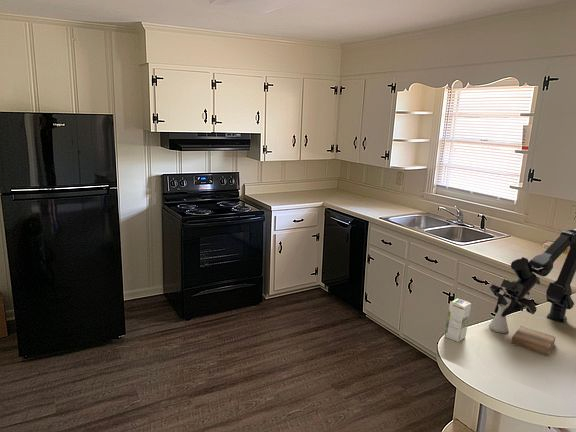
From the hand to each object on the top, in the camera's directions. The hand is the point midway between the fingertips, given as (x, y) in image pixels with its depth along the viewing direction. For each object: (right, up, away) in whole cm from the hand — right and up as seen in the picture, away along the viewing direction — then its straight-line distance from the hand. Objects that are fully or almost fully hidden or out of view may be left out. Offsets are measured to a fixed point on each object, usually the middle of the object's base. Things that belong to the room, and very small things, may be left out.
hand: (498, 314), depth 175 cm
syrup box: (-20, -8, -7) cm, 22 cm away
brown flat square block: (+9, -9, -8) cm, 15 cm away
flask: (+1, -7, +2) cm, 7 cm away
